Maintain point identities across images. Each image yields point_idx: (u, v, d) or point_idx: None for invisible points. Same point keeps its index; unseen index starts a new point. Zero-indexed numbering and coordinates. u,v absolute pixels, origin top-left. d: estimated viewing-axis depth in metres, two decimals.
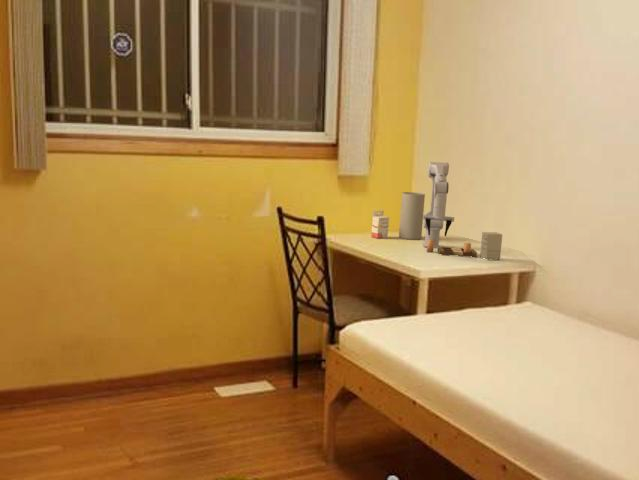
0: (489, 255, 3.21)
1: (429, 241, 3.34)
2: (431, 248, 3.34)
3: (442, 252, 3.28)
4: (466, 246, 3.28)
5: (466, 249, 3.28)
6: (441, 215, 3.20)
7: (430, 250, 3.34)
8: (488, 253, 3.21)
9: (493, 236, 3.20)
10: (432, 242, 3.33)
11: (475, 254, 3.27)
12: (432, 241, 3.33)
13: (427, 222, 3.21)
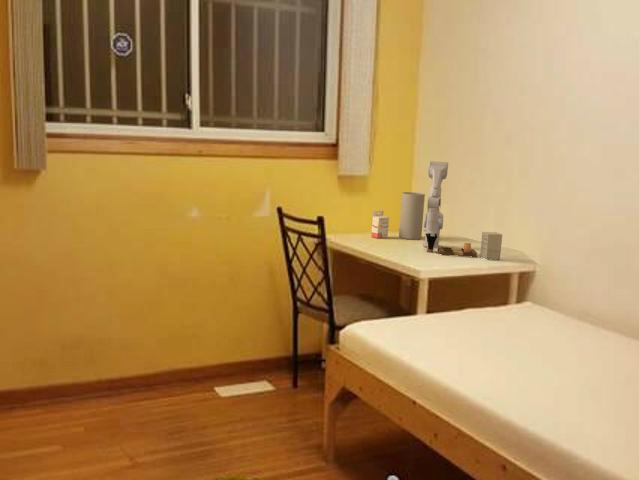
0: (489, 255, 3.21)
1: None
2: None
3: (442, 252, 3.28)
4: (466, 246, 3.28)
5: (466, 249, 3.28)
6: (426, 228, 3.33)
7: (430, 250, 3.34)
8: (488, 253, 3.21)
9: (493, 236, 3.20)
10: None
11: (475, 254, 3.27)
12: None
13: (425, 235, 3.38)
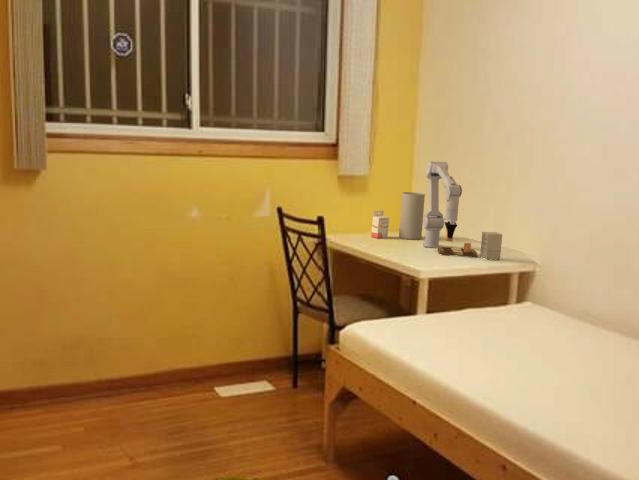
0: (489, 255, 3.21)
1: None
2: None
3: (442, 252, 3.28)
4: (466, 246, 3.28)
5: (466, 249, 3.28)
6: (446, 217, 3.27)
7: (449, 239, 3.28)
8: (488, 253, 3.21)
9: (493, 236, 3.20)
10: None
11: (475, 254, 3.27)
12: None
13: None
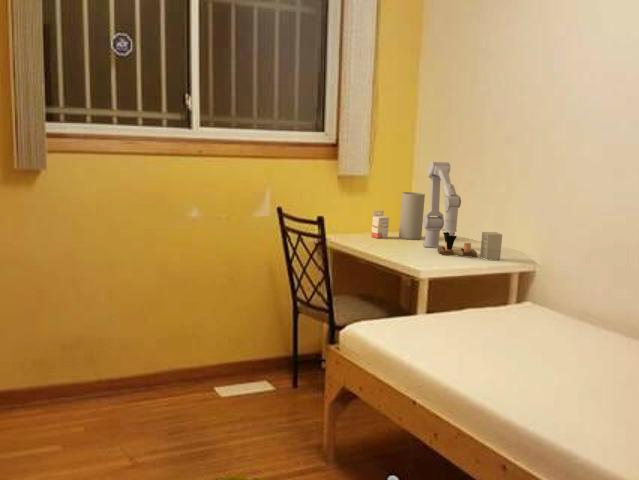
0: (489, 255, 3.21)
1: None
2: None
3: (442, 252, 3.28)
4: (466, 246, 3.28)
5: (466, 249, 3.28)
6: (445, 227, 3.28)
7: None
8: (488, 253, 3.21)
9: (493, 236, 3.20)
10: None
11: (475, 254, 3.27)
12: None
13: (443, 233, 3.35)
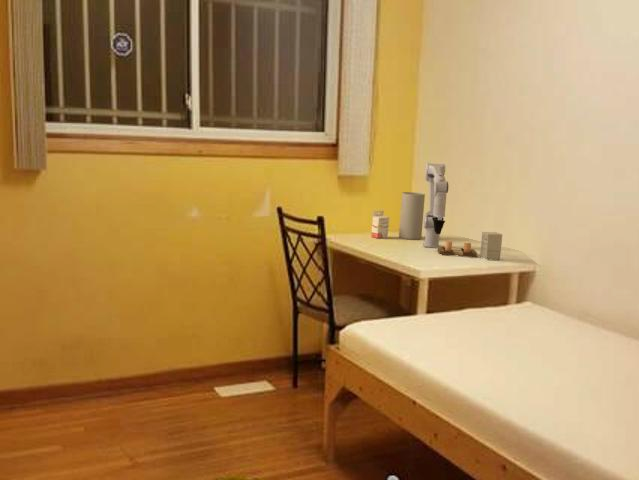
0: (489, 255, 3.21)
1: (447, 243, 3.29)
2: None
3: (442, 252, 3.28)
4: (466, 246, 3.28)
5: (466, 249, 3.28)
6: (434, 212, 3.33)
7: None
8: (488, 253, 3.21)
9: (493, 236, 3.20)
10: (450, 244, 3.29)
11: (475, 254, 3.27)
12: (450, 243, 3.29)
13: (432, 219, 3.40)
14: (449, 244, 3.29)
